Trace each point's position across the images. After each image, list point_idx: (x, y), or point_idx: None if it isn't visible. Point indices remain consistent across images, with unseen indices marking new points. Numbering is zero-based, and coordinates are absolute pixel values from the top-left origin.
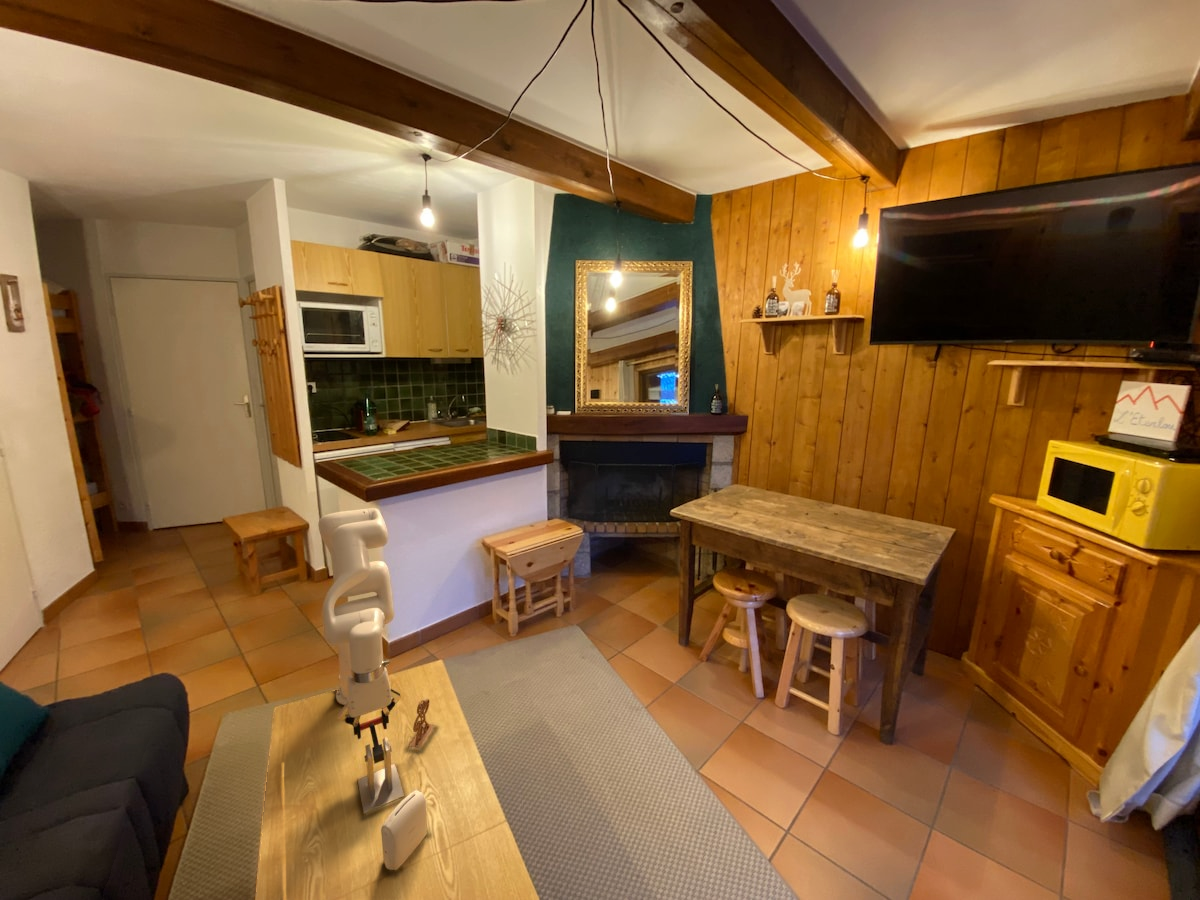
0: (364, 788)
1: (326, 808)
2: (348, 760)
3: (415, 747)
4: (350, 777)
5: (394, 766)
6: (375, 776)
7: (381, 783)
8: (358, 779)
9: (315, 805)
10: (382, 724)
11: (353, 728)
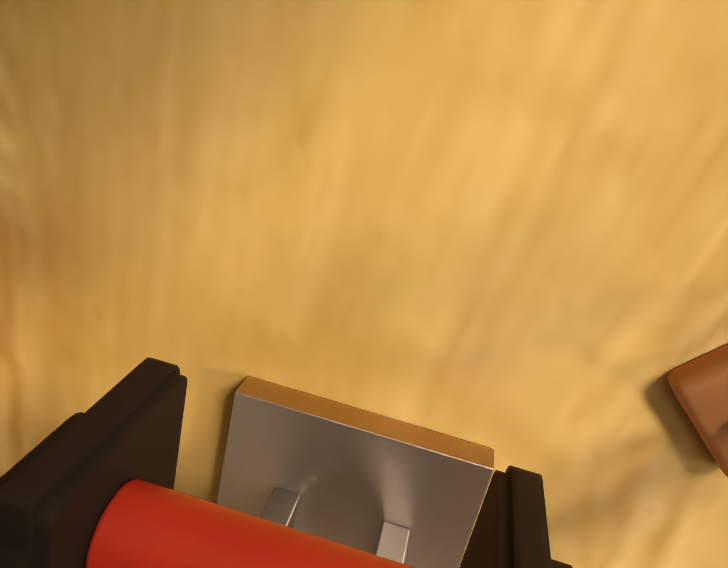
0: (247, 491)
1: (58, 402)
2: (256, 115)
3: (712, 442)
4: (223, 292)
5: (477, 488)
6: (338, 462)
7: (346, 536)
8: (239, 398)
9: (8, 335)
10: (483, 502)
11: (39, 452)
